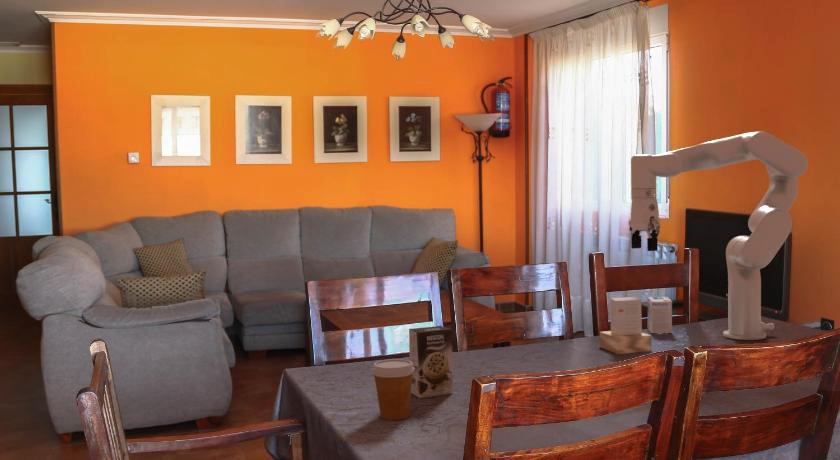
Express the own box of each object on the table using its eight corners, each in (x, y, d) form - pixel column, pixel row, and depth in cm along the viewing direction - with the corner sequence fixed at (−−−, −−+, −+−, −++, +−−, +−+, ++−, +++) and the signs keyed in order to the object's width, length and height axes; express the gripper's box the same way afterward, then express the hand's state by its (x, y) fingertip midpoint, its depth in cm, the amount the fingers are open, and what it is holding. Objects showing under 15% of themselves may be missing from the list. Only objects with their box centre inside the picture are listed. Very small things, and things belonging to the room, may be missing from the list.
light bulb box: (647, 328, 282) (646, 296, 282) (667, 328, 281) (667, 296, 281) (651, 334, 272) (651, 301, 271) (673, 334, 271) (672, 301, 270)
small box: (636, 331, 254) (636, 296, 254) (642, 334, 249) (641, 299, 248) (610, 332, 254) (609, 297, 253) (615, 335, 248) (614, 300, 248)
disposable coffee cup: (376, 410, 194) (375, 358, 193) (417, 410, 193) (416, 358, 192) (370, 422, 184) (368, 368, 184) (413, 422, 184) (412, 368, 183)
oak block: (632, 345, 259) (632, 329, 258) (651, 352, 248) (651, 335, 248) (599, 348, 256) (599, 331, 255) (618, 355, 245) (617, 338, 245)
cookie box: (419, 398, 203) (417, 332, 202) (409, 392, 209) (407, 328, 207) (454, 393, 206) (452, 328, 205) (442, 388, 212) (441, 324, 211)
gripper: (669, 194, 254) (670, 251, 255) (640, 193, 270) (641, 246, 272) (647, 195, 252) (647, 252, 253) (619, 194, 269) (619, 247, 270)
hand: (644, 249), depth 262 cm, fingers open, 9 cm apart
